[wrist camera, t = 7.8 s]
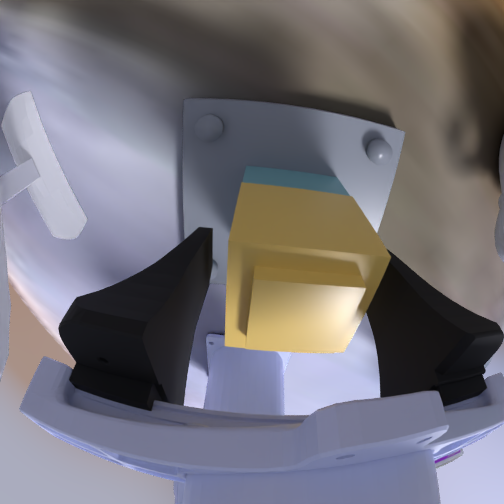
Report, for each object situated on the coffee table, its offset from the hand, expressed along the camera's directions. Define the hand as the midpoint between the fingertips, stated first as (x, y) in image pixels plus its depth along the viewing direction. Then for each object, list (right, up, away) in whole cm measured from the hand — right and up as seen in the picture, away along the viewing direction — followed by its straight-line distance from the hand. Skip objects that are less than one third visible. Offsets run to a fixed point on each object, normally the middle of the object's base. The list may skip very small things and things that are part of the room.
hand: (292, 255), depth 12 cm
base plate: (0, +3, +4) cm, 6 cm away
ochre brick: (0, +1, +1) cm, 1 cm away
